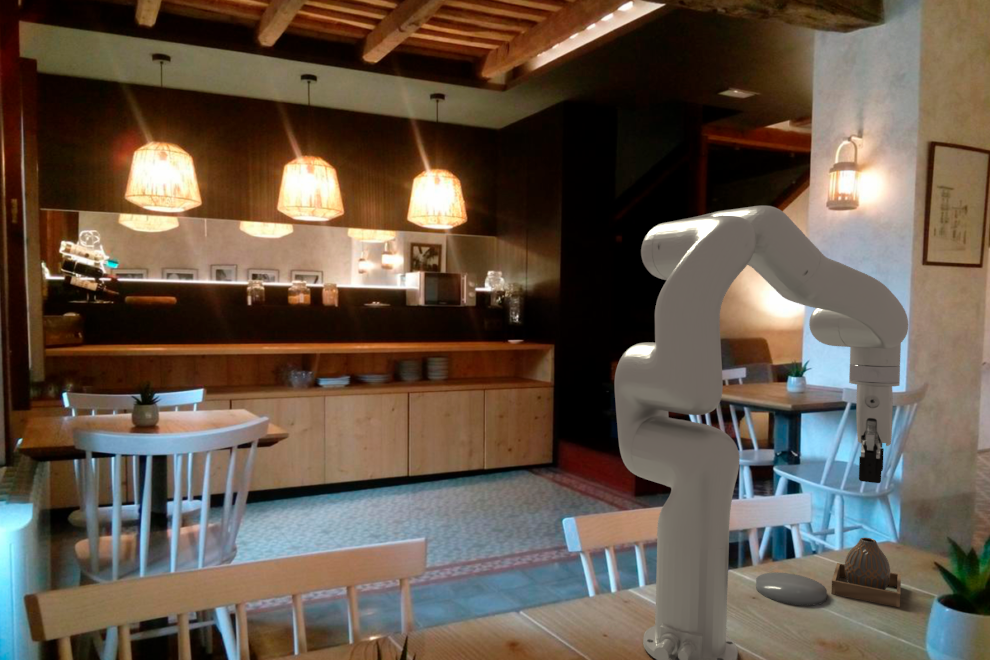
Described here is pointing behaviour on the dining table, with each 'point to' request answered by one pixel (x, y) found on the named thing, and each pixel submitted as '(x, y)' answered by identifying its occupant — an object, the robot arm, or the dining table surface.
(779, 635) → the dining table surface
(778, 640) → the dining table surface
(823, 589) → the plate
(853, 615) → the dining table surface
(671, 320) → the robot arm
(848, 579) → the vase
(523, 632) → the dining table surface
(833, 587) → the holder
